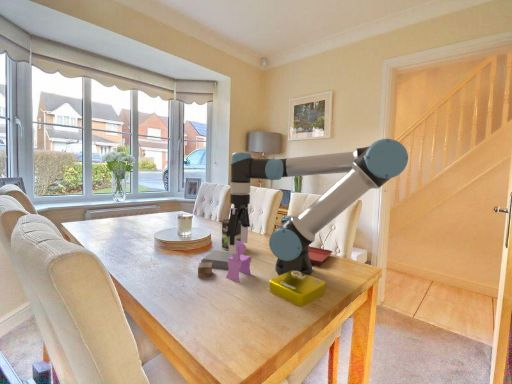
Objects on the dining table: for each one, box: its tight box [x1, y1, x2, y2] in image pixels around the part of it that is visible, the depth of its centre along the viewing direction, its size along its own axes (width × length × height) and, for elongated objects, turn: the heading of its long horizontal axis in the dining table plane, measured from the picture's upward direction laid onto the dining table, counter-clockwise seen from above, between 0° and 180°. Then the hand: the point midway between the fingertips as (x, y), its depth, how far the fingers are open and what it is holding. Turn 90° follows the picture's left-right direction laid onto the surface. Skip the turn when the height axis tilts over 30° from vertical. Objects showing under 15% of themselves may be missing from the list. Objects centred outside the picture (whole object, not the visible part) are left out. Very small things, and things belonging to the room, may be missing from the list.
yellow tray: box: [269, 270, 327, 307], centre depth 93 cm, size 15×15×5 cm
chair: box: [225, 241, 252, 282], centre depth 105 cm, size 8×9×15 cm
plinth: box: [200, 249, 232, 270], centre depth 119 cm, size 13×13×3 cm
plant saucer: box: [309, 245, 333, 267], centre depth 128 cm, size 18×18×3 cm
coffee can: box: [221, 218, 242, 251], centre depth 139 cm, size 10×10×14 cm
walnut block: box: [197, 262, 213, 278], centre depth 106 cm, size 5×5×4 cm
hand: (238, 247), depth 104 cm, fingers open, 13 cm apart
